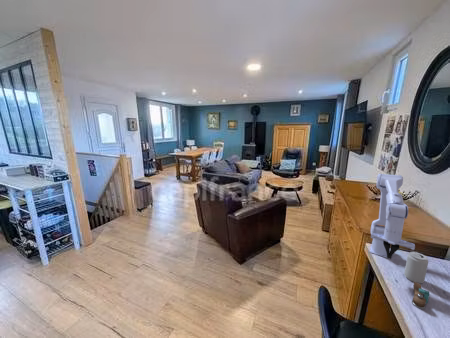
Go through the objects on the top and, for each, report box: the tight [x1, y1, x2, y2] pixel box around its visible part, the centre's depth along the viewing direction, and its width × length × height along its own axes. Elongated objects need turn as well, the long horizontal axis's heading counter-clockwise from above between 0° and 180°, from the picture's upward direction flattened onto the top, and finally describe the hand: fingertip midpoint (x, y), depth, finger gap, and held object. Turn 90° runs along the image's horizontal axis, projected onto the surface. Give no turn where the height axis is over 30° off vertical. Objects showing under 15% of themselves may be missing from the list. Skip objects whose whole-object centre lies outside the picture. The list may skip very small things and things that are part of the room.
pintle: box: [411, 294, 426, 310], centre depth 71 cm, size 4×4×4 cm
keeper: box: [419, 288, 430, 304], centre depth 72 cm, size 1×3×4 cm, turn 48°
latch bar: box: [412, 282, 427, 308], centre depth 74 cm, size 12×3×3 cm, turn 138°
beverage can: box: [403, 251, 429, 284], centre depth 83 cm, size 6×6×12 cm
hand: (388, 257), depth 84 cm, fingers closed
